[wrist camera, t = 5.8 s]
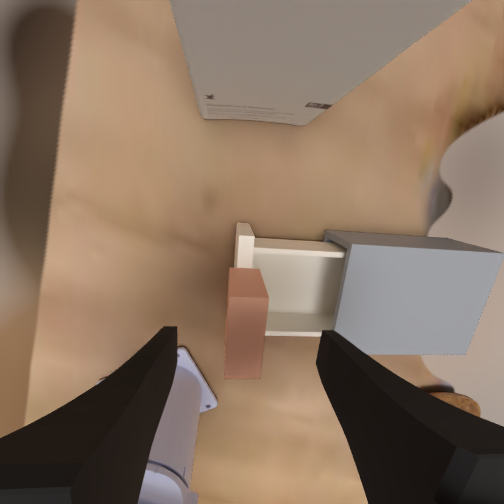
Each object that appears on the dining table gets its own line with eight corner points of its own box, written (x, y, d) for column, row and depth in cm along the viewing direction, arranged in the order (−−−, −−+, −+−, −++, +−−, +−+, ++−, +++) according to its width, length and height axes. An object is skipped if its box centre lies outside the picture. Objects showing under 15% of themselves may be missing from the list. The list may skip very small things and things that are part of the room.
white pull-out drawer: (374, 231, 21) (475, 266, 13) (353, 323, 24) (425, 406, 15) (230, 221, 20) (231, 254, 11) (225, 320, 23) (222, 409, 14)
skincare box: (202, 120, 18) (99, -104, 4) (199, 21, 16) (0, -1043, 2) (310, 127, 19) (560, -39, 5) (319, 33, 17) (753, -681, 3)
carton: (447, 238, 23) (505, 253, 18) (420, 322, 25) (465, 355, 20) (324, 229, 21) (352, 244, 16) (309, 319, 24) (329, 354, 19)
